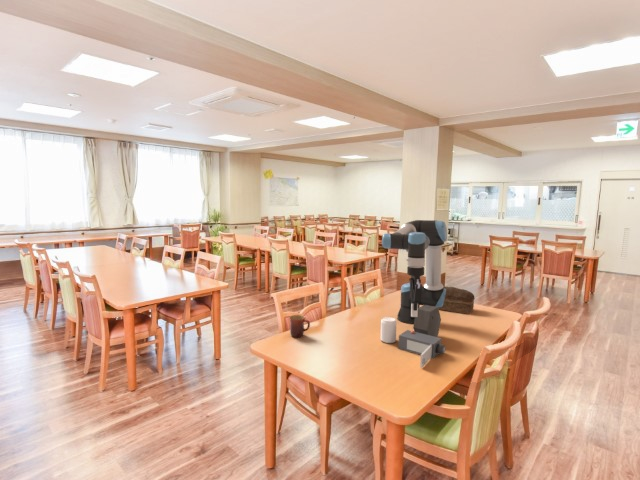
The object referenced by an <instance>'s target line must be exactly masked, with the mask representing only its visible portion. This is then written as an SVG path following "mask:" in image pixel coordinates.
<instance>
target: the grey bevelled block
mask: <svg viewBox="0 0 640 480" xmlns="http://www.w3.org/2000/svg"><path fill="white" fill-rule="evenodd" d="M441 321H442V317H441V313H440V310H439V309H438V307H434V306H429V305H420V307H419V308H418V317H415V321H414V323H413V327H412V328H413V329H412V330H413V331H415V332H418V333H422V334H426V335H430V336H434V337H438V338H439V332H440V327H441Z"/></svg>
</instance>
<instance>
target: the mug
mask: <svg viewBox="0 0 640 480" xmlns="http://www.w3.org/2000/svg"><path fill="white" fill-rule="evenodd" d="M288 319H289V323H290V328H289V329H290V330H289V331H290V335H291V337H293V338H301V337H303V336H304V334H305V332H306V331H308V330H309V329H310V327H311V323H310V321H309V320H308V319H306V316H305V315H301V314H300V315H299V314H295V315H294V314H293V315H291V316H289V317H288ZM305 322H306V323H307V327H306V328H305V326H304V325H305V324H304V323H305Z"/></svg>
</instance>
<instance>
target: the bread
mask: <svg viewBox="0 0 640 480" xmlns="http://www.w3.org/2000/svg"><path fill="white" fill-rule="evenodd" d="M443 288H445V289H446V294H445V299H444V304H443V306H442V307H438V309H439V311H440V310H441V311H447V312H452V313H460V314H466V315H470V314H471V313H472V312H473V311H474V307H475V305H474V304H475V303H474V302H475V294H474V293H472V292H471V291H469V290H468V289H463V288H458V287H454V286H444V285H443Z"/></svg>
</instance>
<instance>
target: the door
mask: <svg viewBox="0 0 640 480" xmlns="http://www.w3.org/2000/svg"><path fill="white" fill-rule="evenodd" d="M431 359H433V358H432V344H430V346H429V347H428V348H427V349H426V350H425V351H424V352H423V353H422V354H421V355H420V364H419V365H420V366H419V367H420V368H422V369H423V368H424V366H426V365H427V363H428V362H429V361H430V360H431Z"/></svg>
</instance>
